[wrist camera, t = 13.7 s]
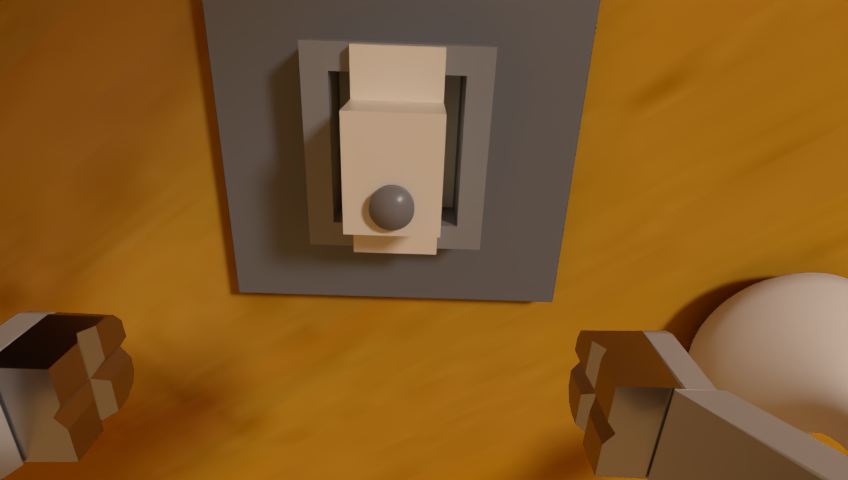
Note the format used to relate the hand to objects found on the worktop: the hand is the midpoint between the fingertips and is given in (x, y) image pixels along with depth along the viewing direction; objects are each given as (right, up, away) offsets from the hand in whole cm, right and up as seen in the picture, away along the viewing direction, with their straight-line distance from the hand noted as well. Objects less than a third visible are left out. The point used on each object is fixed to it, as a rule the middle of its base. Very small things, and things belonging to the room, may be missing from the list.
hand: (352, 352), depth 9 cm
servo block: (0, +7, +16) cm, 18 cm away
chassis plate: (0, +7, +17) cm, 19 cm away
